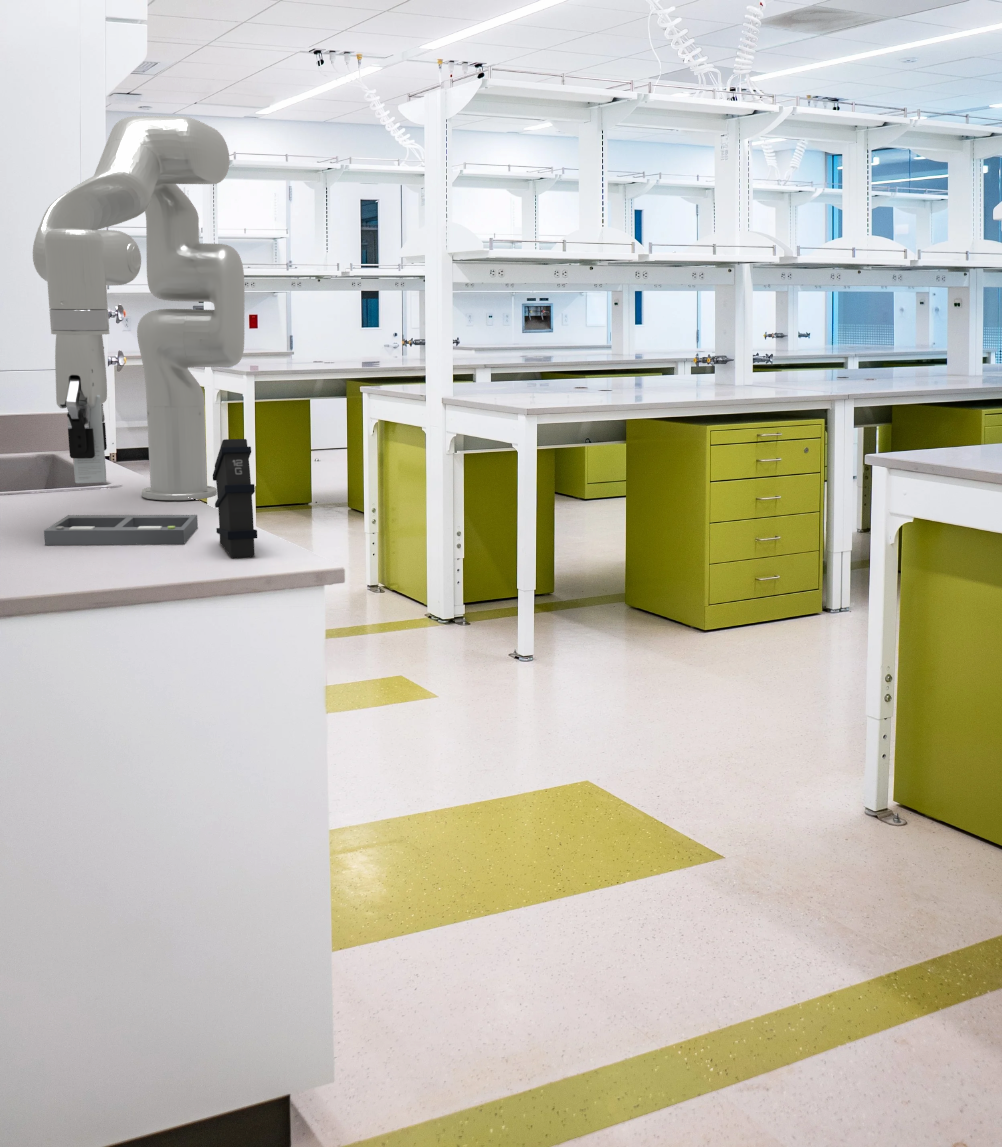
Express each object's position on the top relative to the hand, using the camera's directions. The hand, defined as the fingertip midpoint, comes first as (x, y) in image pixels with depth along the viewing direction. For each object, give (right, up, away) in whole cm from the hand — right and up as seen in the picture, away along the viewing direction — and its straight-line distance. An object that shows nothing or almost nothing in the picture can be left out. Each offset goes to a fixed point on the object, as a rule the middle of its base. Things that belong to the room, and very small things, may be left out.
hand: (88, 453), depth 165 cm
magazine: (+22, -14, -6) cm, 26 cm away
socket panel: (+4, -12, +2) cm, 12 cm away
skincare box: (0, -4, +1) cm, 4 cm away
